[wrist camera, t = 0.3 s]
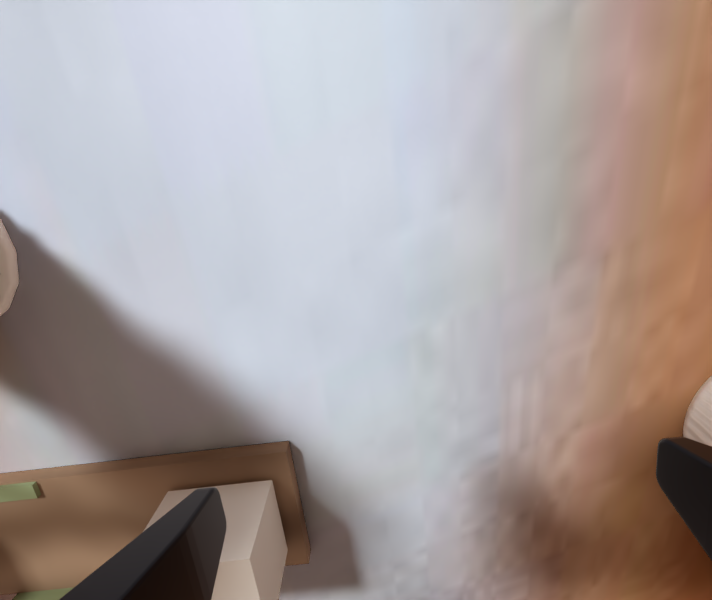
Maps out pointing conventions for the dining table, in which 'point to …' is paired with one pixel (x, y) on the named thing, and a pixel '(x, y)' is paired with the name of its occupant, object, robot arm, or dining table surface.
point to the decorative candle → (7, 270)
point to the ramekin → (700, 415)
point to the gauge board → (121, 510)
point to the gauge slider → (245, 541)
